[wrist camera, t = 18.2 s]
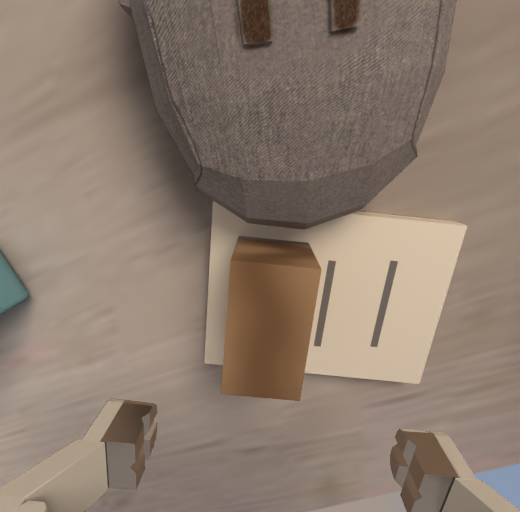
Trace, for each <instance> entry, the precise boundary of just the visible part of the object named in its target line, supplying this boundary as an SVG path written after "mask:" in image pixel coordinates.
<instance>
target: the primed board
mask: <svg viewBox="0 0 520 512" xmlns="http://www.w3.org/2000/svg"><path fill="white" fill-rule="evenodd" d="M466 229H467V226H466V225H464V224H461V223H458V222H455V221H448V220H438V219H428V218H418V217H408V216H398V215H388V214H379V213H369V212H359V211H357V212H354V213H351V214H348V215H345V216H342V217H340V218H337V219H334V220H331V221H328V222H325V223H322V224H319V225H316V226H314V227H311V228H308V229H305V230H304V229H295V228H286V227H277V226H268V225H259V224H250V223H247V222H245V221H244V220H242V219H241V218H239V217H238V216H236V215H235V214H233V213H232V212H230V211H229V210H227V209H225V208H224V207H222V206H221V205H219V204H218V203H216V202H215V201H213V209H212V228H211V247H210V266H209V285H208V304H207V323H206V342H205V361H204V363H206V364H216V365H223V357H224V343H225V329H226V315H227V301H228V287H229V274H230V260H231V257H232V254H233V251H234V249H235V246H236V243H237V240H238V237H239V236H246V237H256V238H266V239H276V240H286V241H296V242H307V243H309V245H310V247H311V249H312V251H313V253H314V255H315V257H316V259H317V261H318V263H319V265H320V267H321V269H322V270H321V276H320V282H319V288H318V294H317V300H316V306H315V312H314V318H313V324H312V330H311V336H310V342H309V348H308V354H307V360H306V366H305V372H304V373H311V374H321V375H332V376H342V377H353V378H363V379H374V380H384V381H395V382H405V383H416V384H419V383H420V380H421V377H422V373H423V370H424V367H425V364H426V360H427V357H428V354H429V350H430V347H431V344H432V341H433V337H434V334H435V331H436V327H437V324H438V321H439V317H440V314H441V311H442V308H443V304H444V301H445V298H446V294H447V291H448V288H449V285H450V281H451V278H452V275H453V271H454V268H455V265H456V261H457V258H458V255H459V252H460V248H461V245H462V242H463V238H464V235H465V232H466Z"/></svg>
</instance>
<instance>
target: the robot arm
mask: <svg viewBox="0 0 520 512" xmlns="http://www.w3.org/2000/svg"><path fill="white" fill-rule="evenodd" d="M156 414H157V405H156V404H154V403H146V402H138V401H130V400H120V399H113V398H111V399H110V400H109V401H107V403H106V404H105V406H104V407H103V409H102V410H101V412H100V413H99V415H98V416H97V418H96V419H95V421H94V422H93V424H92V425H91V427H90V428H89V430H88V431H87V433H86V434H85V436H84V437H83V439H77V440H75V441H74V442H72V443H70V444H69V445H67V446H66V447H64V448H63V449H61V450H59V451H58V452H56V453H55V454H53V455H51V456H50V457H48V458H47V459H45V460H43V461H42V462H40V463H39V464H37V465H36V466H34V467H32V468H31V469H29V470H28V471H26V472H24V473H23V474H21V475H20V476H18V477H17V478H15V479H13V480H12V481H10V482H9V483H7V484H5V485H4V486H2V487H1V488H0V512H85V511H86V510H87V509H88V508H89V507H90V506H91V505H92V504H93V503H95V502H96V501H97V500H98V499H99V498H100V497H101V496H102V495H103V494H104V493H105V492H106V491H107V490H108V488H120V489H134V490H136V489H137V487H138V484H139V482H140V479H141V477H142V474H143V472H144V470H145V459H146V458H147V457H149V456H150V454H151V452H152V449H153V447H154V443H155V439H156V433H157V423H156V422H155V420H154V418H155V416H156ZM395 438H396V441H397V444H396V445H395V446H393V447H392V450H391V454H390V466H391V471H392V474H393V477H394V480H395V481H396V482H397V483H398V484H399V485H400V486H401V487H402V491H401V494H400V495H401V498H402V500H403V503H404V506H405V508H406V511H407V512H520V510H519V509H517V508H516V507H515V506H514V505H512V504H511V503H510V502H508V501H507V500H506V499H505V498H503V497H502V496H501V495H499V494H498V493H497V492H496V491H495V490H493V489H492V488H491V487H490V486H488V485H487V484H486V483H485V482H483V481H480V480H477V479H476V477H475V476H474V474H473V472H472V471H471V469H470V468H469V466H468V465H467V463H466V461H465V460H464V458H463V457H462V455H461V454H460V452H459V451H458V449H457V447H456V446H455V444H454V443H453V441H452V440H451V438H450V437H449V435H447V434H446V433H442V432H431V431H430V432H428V431H420V430H409V429H399V430H398V431H397V433H396V436H395Z"/></svg>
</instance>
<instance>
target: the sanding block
mask: <svg viewBox="0 0 520 512" xmlns="http://www.w3.org/2000/svg"><path fill="white" fill-rule="evenodd" d="M321 270H322V269H321V267H320V265H319V263H318V261H317V259H316V257H315V255H314V253H313V251H312V249H311V247H310V245H309V243H307V242H296V241H286V240H276V239H266V238H256V237H246V236H239V237H238V240H237V243H236V246H235V249H234V251H233V254H232V257H231V260H230V274H229V287H228V301H227V315H226V329H225V343H224V357H223V371H222V385H221V394H230V395H241V396H252V397H263V398H273V399H284V400H295V401H300V396H301V390H302V384H303V378H304V372H305V366H306V360H307V354H308V348H309V342H310V336H311V330H312V324H313V318H314V312H315V306H316V300H317V294H318V288H319V282H320V276H321Z"/></svg>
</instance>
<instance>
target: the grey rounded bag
mask: <svg viewBox="0 0 520 512" xmlns="http://www.w3.org/2000/svg"><path fill="white" fill-rule="evenodd" d="M456 1H457V0H119V4H120V5H121V6H122V7H123V9H124V10H125V11H126V12H127V13H128V14H129V16H130V17H131V18H132V19H133V20H134V22H135V26H136V30H137V34H138V38H139V43H140V47H141V51H142V55H143V59H144V63H145V67H146V71H147V75H148V79H149V83H150V87H151V91H152V95H153V99H154V103H155V107H156V111H157V113H158V114H159V116H160V118H161V120H162V121H163V123H164V125H165V126H166V128H167V130H168V132H169V133H170V135H171V137H172V138H173V140H174V142H175V144H176V145H177V147H178V149H179V150H180V152H181V154H182V156H183V157H184V159H185V161H186V163H187V164H188V166H189V168H190V169H191V171H192V173H193V175H194V176H195V179H194V183H193V184H194V186H195V188H196V190H198V191H199V192H201V193H202V194H204V195H205V196H207V197H208V198H210V199H212V200H213V201H215V202H216V203H218V204H219V205H221V206H222V207H224V208H225V209H227V210H229V211H230V212H232V213H233V214H235V215H236V216H238V217H239V218H241V219H242V220H244V221H245V222H247V223H250V224H259V225H268V226H277V227H286V228H295V229H304V230H305V229H308V228H311V227H314V226H316V225H319V224H322V223H325V222H328V221H331V220H334V219H337V218H340V217H342V216H345V215H348V214H351V213H354V212H357V211H360V210H361V209H362V208H363V207H364V206H365V205H366V204H367V203H369V202H370V201H371V200H372V199H373V198H374V197H375V196H376V195H377V194H378V193H379V192H380V191H381V190H382V189H383V188H384V187H385V186H387V185H388V184H389V183H390V182H391V181H392V180H393V179H394V178H395V177H396V176H397V175H398V174H399V173H400V172H401V171H402V170H403V169H405V168H406V167H407V166H408V165H409V164H410V163H411V162H412V161H413V160H414V159H415V158H416V157H417V149H416V144H417V141H418V139H419V136H420V134H421V131H422V128H423V126H424V123H425V121H426V118H427V116H428V113H429V110H430V108H431V105H432V103H433V100H434V98H435V95H436V92H437V90H438V87H439V85H440V82H441V80H442V77H443V74H444V72H445V66H446V60H447V54H448V48H449V42H450V36H451V30H452V24H453V19H454V13H455V7H456Z"/></svg>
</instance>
